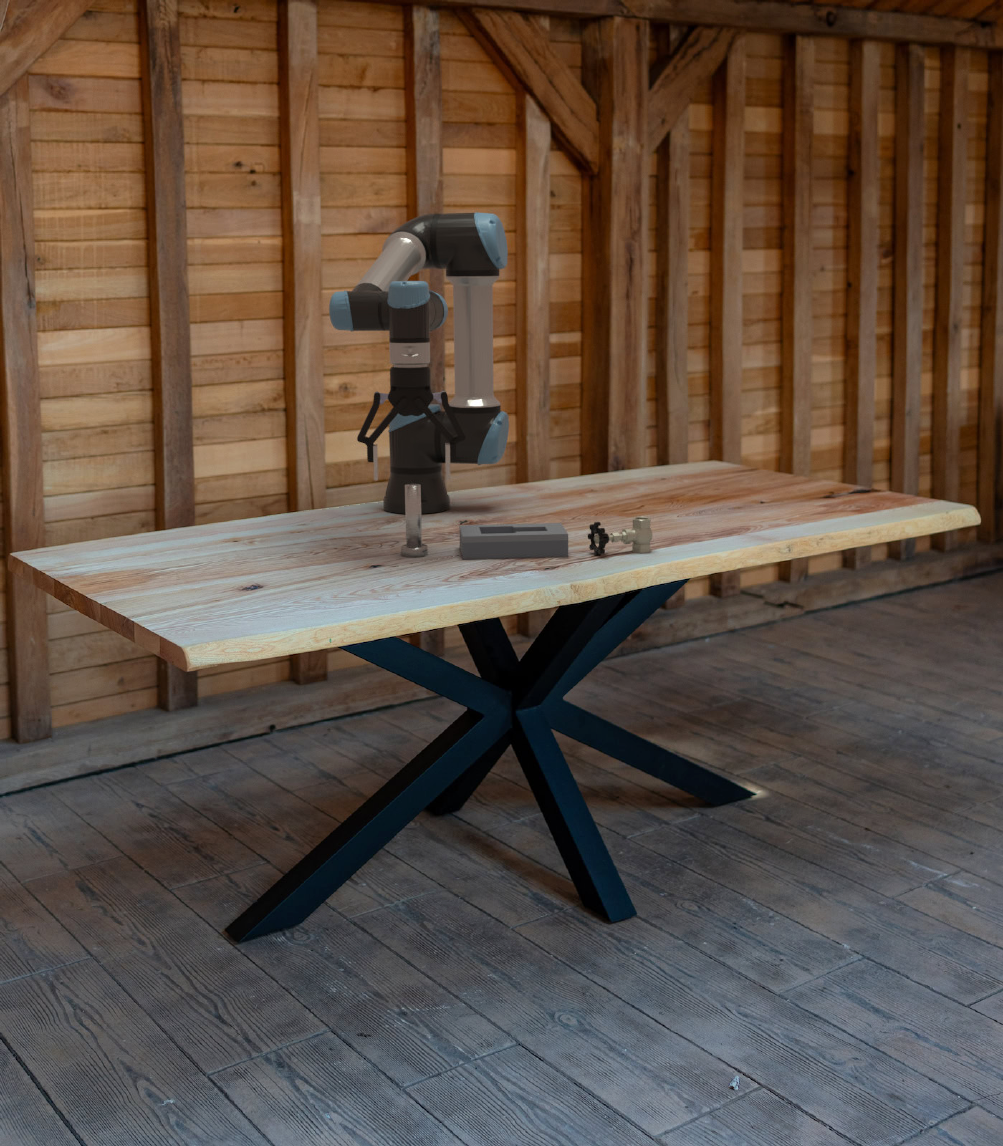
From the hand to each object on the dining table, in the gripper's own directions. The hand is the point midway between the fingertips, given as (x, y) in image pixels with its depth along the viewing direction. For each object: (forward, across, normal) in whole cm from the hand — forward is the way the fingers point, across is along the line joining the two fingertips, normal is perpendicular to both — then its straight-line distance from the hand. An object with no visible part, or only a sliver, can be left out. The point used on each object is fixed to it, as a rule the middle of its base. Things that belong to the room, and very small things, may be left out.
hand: (412, 479), depth 255 cm
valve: (+15, +40, -3) cm, 43 cm away
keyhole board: (+15, +19, 0) cm, 24 cm away
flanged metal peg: (+15, 0, 0) cm, 15 cm away
